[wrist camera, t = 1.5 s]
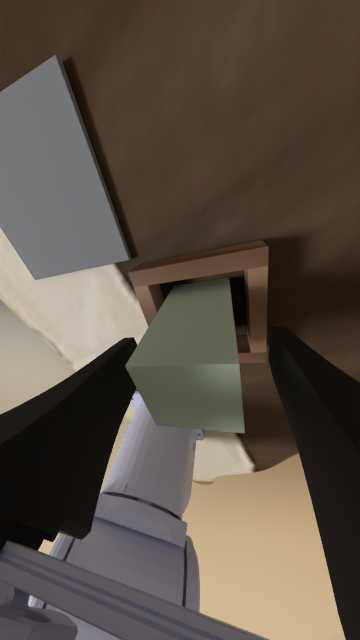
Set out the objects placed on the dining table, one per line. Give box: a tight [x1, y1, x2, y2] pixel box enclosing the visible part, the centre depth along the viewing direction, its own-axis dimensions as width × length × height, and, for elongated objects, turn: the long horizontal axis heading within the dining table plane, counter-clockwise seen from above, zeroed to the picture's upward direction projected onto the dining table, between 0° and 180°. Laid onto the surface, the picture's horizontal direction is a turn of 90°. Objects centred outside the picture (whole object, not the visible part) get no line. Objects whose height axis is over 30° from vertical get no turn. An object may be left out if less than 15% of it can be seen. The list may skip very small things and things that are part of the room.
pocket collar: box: [128, 240, 269, 363], centre depth 13 cm, size 8×8×2 cm
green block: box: [125, 278, 245, 433], centre depth 10 cm, size 4×4×8 cm
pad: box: [0, 55, 132, 280], centre depth 11 cm, size 9×9×1 cm
